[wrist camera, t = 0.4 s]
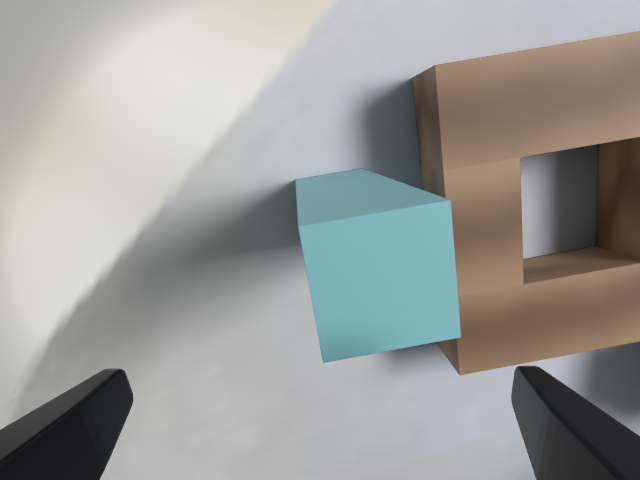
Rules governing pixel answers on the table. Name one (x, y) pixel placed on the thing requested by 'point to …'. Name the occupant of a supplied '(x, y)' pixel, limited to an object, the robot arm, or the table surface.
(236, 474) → the table surface
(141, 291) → the table surface
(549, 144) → the walnut socket block
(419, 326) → the teal peg
